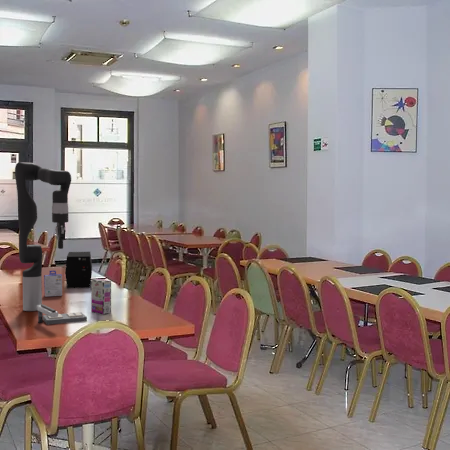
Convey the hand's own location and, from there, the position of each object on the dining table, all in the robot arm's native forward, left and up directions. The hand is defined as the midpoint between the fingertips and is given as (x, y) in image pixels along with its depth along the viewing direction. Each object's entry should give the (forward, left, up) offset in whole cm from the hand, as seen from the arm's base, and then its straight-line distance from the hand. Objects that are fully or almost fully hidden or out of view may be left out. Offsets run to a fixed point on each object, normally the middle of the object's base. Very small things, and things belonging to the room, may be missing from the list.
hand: (60, 248), depth 285 cm
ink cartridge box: (-63, +7, -33) cm, 72 cm away
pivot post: (+9, -11, -33) cm, 36 cm away
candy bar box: (-2, +20, -33) cm, 39 cm away
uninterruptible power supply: (-100, +30, -33) cm, 110 cm away
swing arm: (+18, -10, -27) cm, 34 cm away
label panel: (+9, 0, -33) cm, 34 cm away
